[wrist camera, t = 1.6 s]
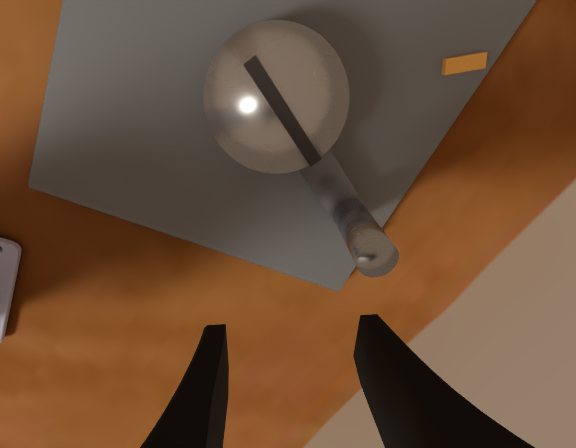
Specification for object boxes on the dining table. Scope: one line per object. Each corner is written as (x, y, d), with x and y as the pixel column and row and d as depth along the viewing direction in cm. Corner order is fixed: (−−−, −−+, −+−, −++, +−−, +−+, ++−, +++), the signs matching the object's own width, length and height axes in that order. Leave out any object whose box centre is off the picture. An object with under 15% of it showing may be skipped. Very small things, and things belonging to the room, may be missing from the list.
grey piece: (178, 77, 15) (152, 96, 11) (293, -12, 14) (318, -35, 10) (308, 247, 20) (329, 308, 16) (400, 190, 19) (450, 238, 15)
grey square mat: (37, 179, 18) (24, 189, 17) (137, -311, 11) (124, -352, 10) (334, 282, 23) (339, 294, 22) (522, -1, 16) (543, -3, 15)
